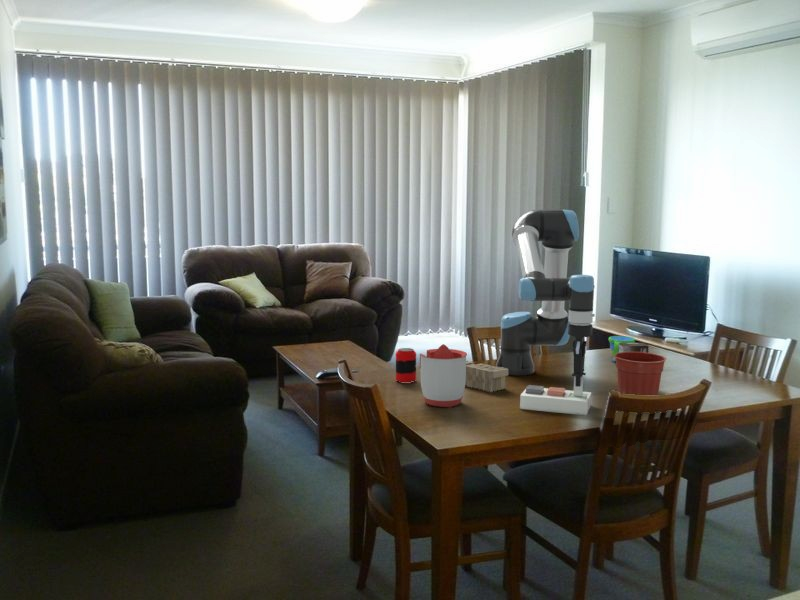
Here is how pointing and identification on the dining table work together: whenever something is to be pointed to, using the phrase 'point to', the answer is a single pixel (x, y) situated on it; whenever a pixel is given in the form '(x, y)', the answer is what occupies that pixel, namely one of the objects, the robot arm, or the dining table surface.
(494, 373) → the block tower
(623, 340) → the snack cup
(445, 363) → the citrus juicer
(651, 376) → the flower pot
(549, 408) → the key panel
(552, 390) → the brick key
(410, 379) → the soda can
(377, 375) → the dining table surface
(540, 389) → the charcoal key
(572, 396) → the sage key
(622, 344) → the coffee box
